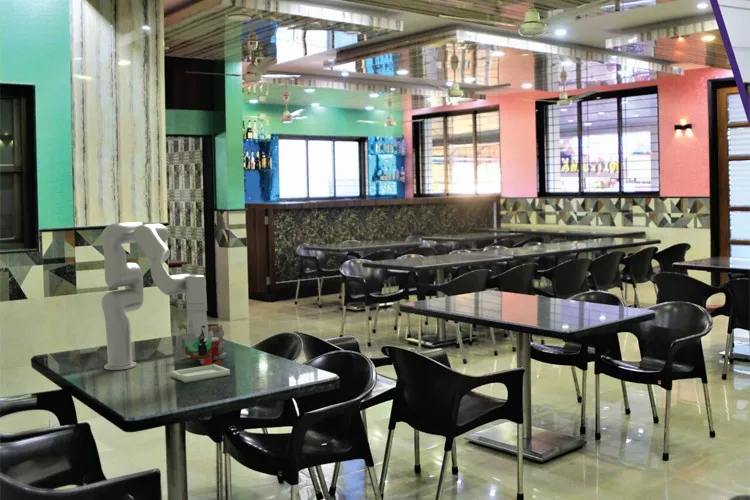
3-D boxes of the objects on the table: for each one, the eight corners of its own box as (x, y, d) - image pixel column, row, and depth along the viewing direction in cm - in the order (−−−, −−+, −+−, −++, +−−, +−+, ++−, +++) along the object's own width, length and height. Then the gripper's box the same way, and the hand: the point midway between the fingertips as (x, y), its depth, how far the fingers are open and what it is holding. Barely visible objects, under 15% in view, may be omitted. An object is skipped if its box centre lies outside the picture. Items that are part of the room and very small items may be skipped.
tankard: (230, 354, 338) (228, 320, 337) (219, 360, 325) (217, 325, 324) (186, 354, 341) (185, 320, 340) (174, 360, 329) (172, 325, 328)
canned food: (216, 367, 313) (214, 340, 312) (197, 367, 314) (196, 340, 314) (223, 363, 320) (222, 336, 319) (205, 363, 322) (204, 336, 321)
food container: (186, 361, 292) (184, 335, 291) (182, 359, 298) (180, 333, 297) (218, 357, 298) (216, 331, 297) (214, 354, 303) (212, 329, 303)
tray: (171, 376, 299) (170, 371, 299) (214, 369, 310) (214, 364, 310) (185, 382, 288) (185, 377, 288) (229, 374, 298) (229, 369, 298)
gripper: (178, 306, 302) (181, 352, 303) (196, 310, 288) (199, 358, 289) (197, 304, 306) (199, 349, 307) (215, 308, 292) (218, 355, 293)
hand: (199, 353), depth 298 cm, fingers closed on food container, 5 cm apart
